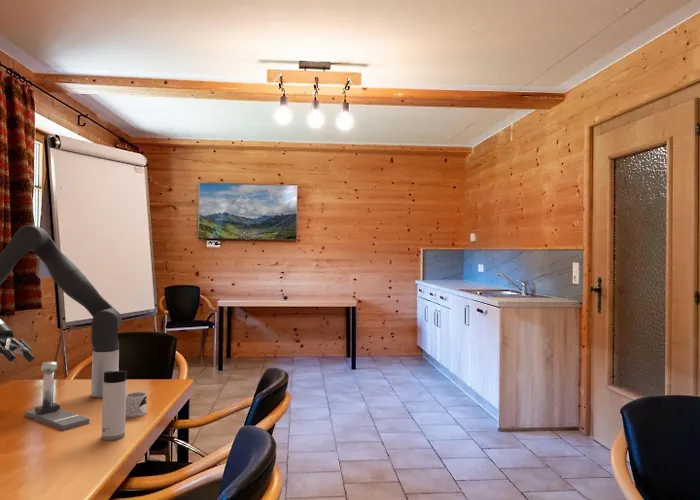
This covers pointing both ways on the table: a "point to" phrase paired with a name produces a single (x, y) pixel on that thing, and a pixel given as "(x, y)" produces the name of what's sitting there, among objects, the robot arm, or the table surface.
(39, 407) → the fader
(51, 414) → the fader panel
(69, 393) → the table surface
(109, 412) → the travel mug
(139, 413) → the mug
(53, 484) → the table surface
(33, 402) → the table surface
